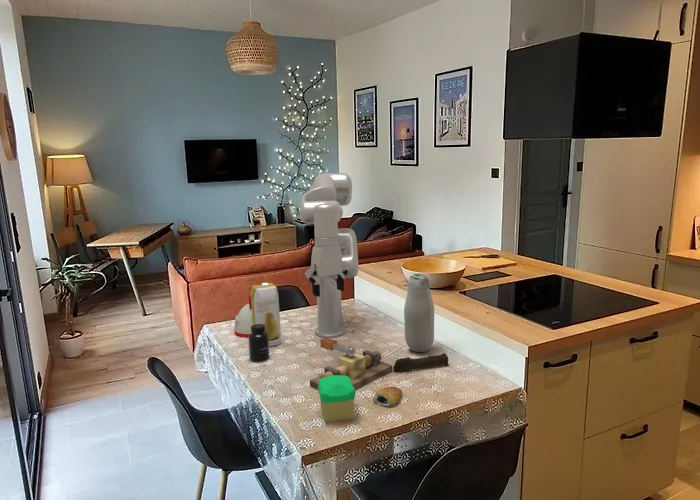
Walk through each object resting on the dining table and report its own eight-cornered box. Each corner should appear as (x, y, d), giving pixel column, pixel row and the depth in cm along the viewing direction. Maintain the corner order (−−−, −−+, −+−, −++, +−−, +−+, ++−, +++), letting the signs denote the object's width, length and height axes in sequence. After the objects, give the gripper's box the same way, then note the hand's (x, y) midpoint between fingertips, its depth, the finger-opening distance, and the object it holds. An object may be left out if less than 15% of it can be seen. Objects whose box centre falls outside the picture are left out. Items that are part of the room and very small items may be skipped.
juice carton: (259, 350, 188) (254, 286, 183) (252, 343, 195) (248, 282, 190) (283, 344, 192) (279, 283, 187) (276, 338, 199) (272, 278, 194)
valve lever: (357, 355, 161) (356, 347, 160) (350, 358, 159) (350, 350, 158) (326, 344, 170) (326, 336, 170) (320, 347, 168) (320, 339, 168)
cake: (322, 425, 135) (320, 390, 133) (317, 405, 145) (316, 373, 144) (358, 420, 137) (357, 386, 135) (351, 402, 147) (350, 369, 145)
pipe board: (365, 361, 175) (365, 341, 173) (392, 371, 166) (392, 350, 165) (310, 386, 157) (308, 364, 156) (336, 398, 149) (335, 375, 148)
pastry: (387, 390, 153) (387, 379, 153) (407, 396, 150) (407, 384, 149) (371, 404, 146) (371, 391, 145) (392, 410, 142) (392, 397, 141)
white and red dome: (235, 339, 199) (232, 302, 196) (234, 328, 212) (231, 293, 209) (271, 335, 202) (268, 299, 199) (268, 324, 215) (266, 290, 212)
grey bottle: (439, 349, 183) (439, 273, 177) (422, 358, 176) (422, 279, 170) (416, 343, 190) (415, 269, 184) (399, 351, 182) (398, 275, 177)
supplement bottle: (265, 362, 176) (263, 329, 174) (246, 361, 177) (244, 329, 175) (272, 355, 183) (270, 323, 180) (254, 354, 184) (252, 322, 182)
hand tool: (443, 362, 172) (443, 349, 172) (449, 367, 169) (449, 353, 168) (390, 370, 168) (390, 357, 167) (395, 375, 164) (394, 361, 163)
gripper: (341, 237, 173) (342, 286, 177) (297, 244, 163) (300, 295, 166) (354, 239, 168) (356, 290, 171) (310, 247, 157) (313, 300, 160)
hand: (328, 292), depth 169 cm, fingers open, 9 cm apart
